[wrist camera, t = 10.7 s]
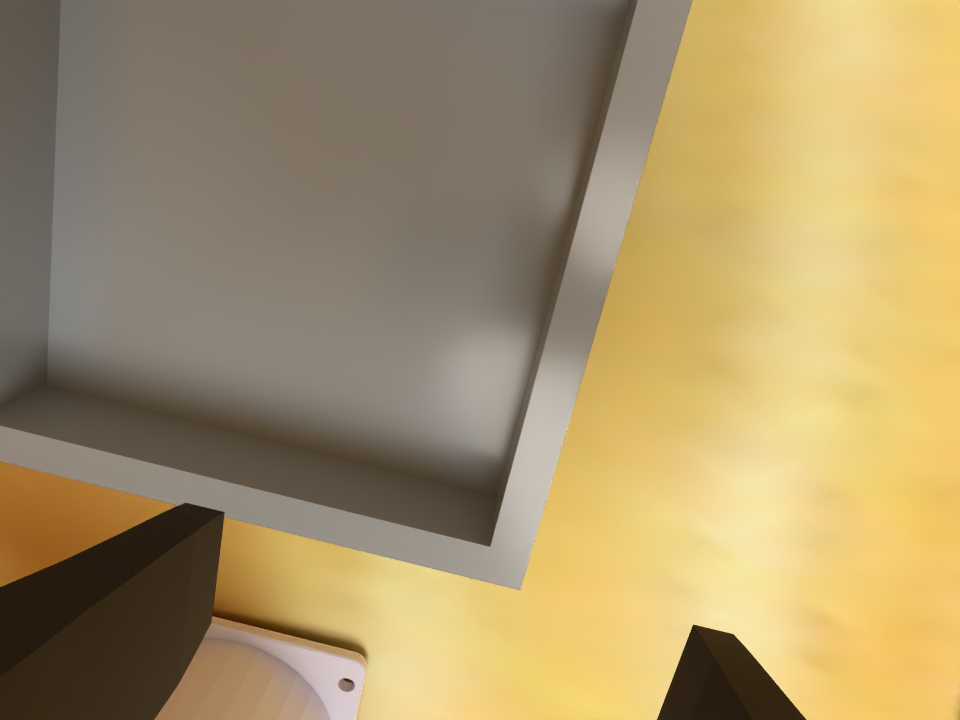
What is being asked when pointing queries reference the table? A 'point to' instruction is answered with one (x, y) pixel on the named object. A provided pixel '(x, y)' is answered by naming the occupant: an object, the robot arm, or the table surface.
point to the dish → (318, 253)
